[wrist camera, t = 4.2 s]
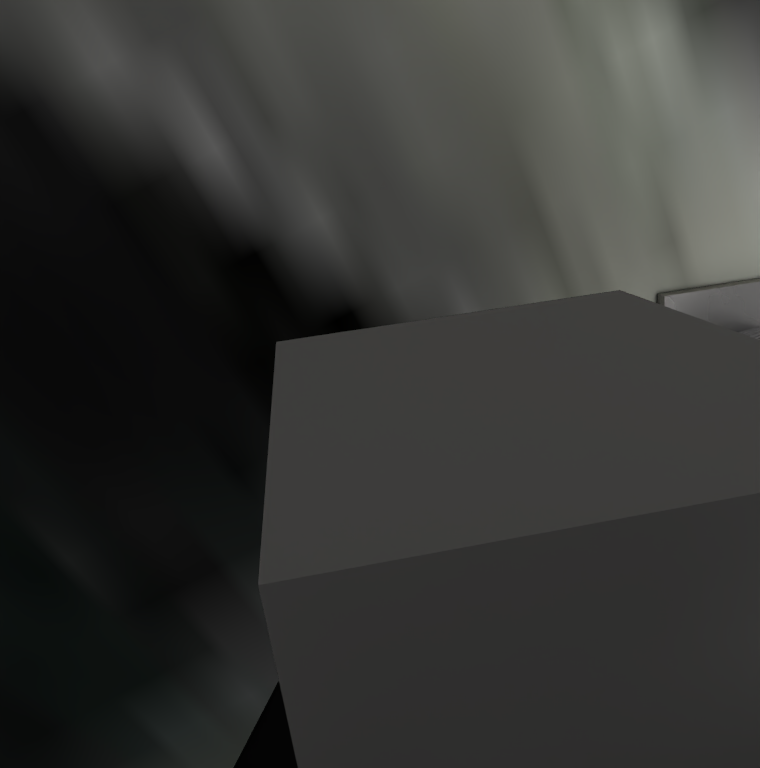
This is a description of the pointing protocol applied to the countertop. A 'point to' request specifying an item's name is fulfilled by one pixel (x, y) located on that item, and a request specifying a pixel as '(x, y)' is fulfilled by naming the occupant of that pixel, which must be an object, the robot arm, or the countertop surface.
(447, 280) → the countertop surface
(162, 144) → the countertop surface
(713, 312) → the pin plate
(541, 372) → the block
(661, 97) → the countertop surface
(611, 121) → the countertop surface
